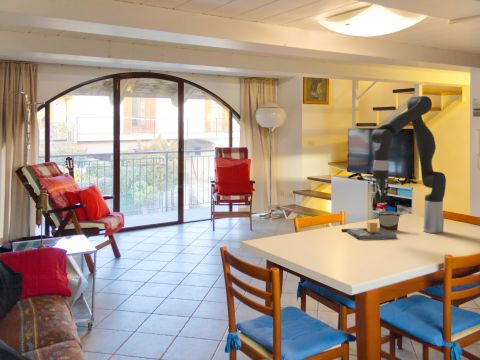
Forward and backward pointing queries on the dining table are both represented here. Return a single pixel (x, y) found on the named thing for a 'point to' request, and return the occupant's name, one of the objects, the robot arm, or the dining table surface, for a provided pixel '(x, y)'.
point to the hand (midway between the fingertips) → (379, 202)
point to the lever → (372, 227)
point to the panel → (380, 234)
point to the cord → (352, 234)
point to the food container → (389, 220)
